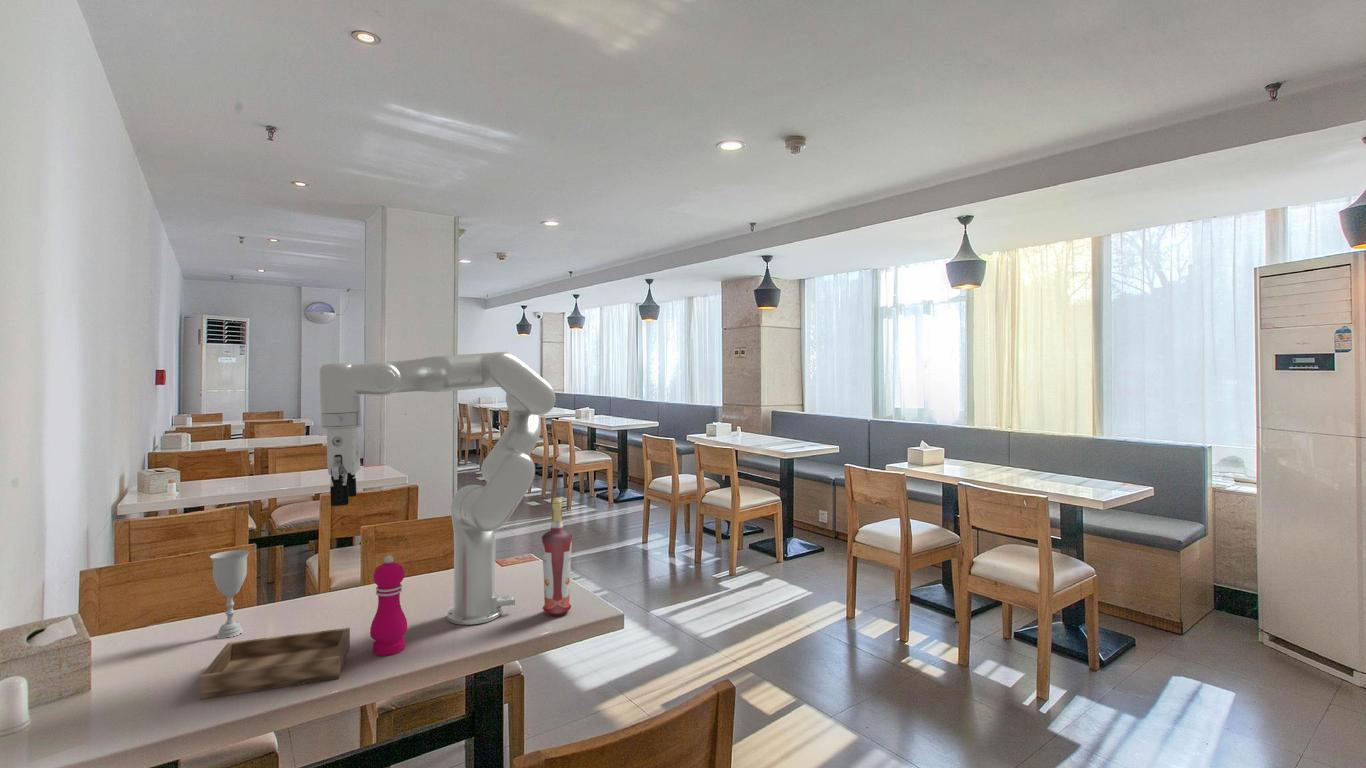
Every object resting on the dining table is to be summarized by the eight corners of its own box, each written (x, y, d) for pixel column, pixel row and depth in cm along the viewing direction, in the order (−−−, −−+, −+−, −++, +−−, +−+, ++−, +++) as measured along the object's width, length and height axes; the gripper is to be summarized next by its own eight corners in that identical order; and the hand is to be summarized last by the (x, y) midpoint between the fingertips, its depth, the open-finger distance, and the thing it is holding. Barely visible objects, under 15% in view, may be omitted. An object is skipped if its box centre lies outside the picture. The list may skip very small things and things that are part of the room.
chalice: (207, 642, 138) (206, 560, 138) (213, 631, 144) (213, 552, 144) (247, 636, 141) (247, 555, 141) (251, 626, 147) (251, 548, 147)
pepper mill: (393, 658, 130) (393, 561, 130) (362, 655, 132) (362, 559, 132) (414, 644, 137) (414, 552, 137) (385, 641, 139) (385, 550, 139)
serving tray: (349, 646, 136) (349, 627, 136) (338, 678, 121) (338, 657, 121) (227, 662, 128) (227, 642, 128) (200, 699, 113) (200, 677, 113)
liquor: (573, 616, 153) (573, 501, 153) (542, 619, 152) (542, 502, 152) (571, 606, 161) (571, 495, 160) (541, 608, 159) (541, 497, 159)
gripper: (354, 423, 128) (357, 507, 129) (366, 417, 145) (369, 492, 145) (312, 425, 126) (315, 510, 126) (329, 419, 142) (332, 495, 143)
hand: (344, 500), depth 136 cm, fingers open, 9 cm apart
